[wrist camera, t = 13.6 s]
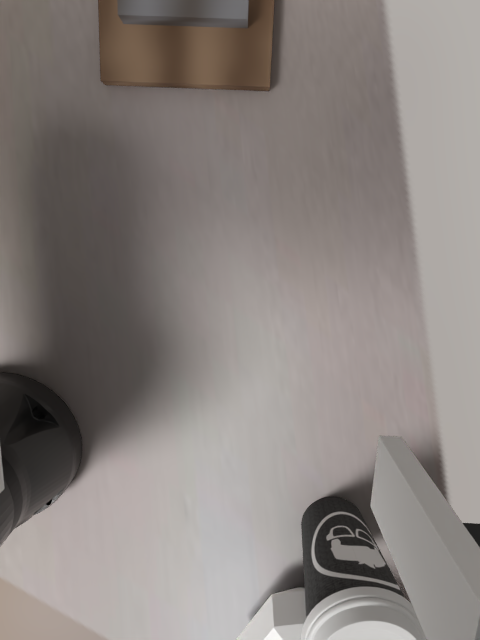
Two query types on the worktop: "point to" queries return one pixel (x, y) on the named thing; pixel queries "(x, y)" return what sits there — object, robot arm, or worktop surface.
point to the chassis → (186, 43)
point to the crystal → (278, 617)
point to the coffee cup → (350, 580)
